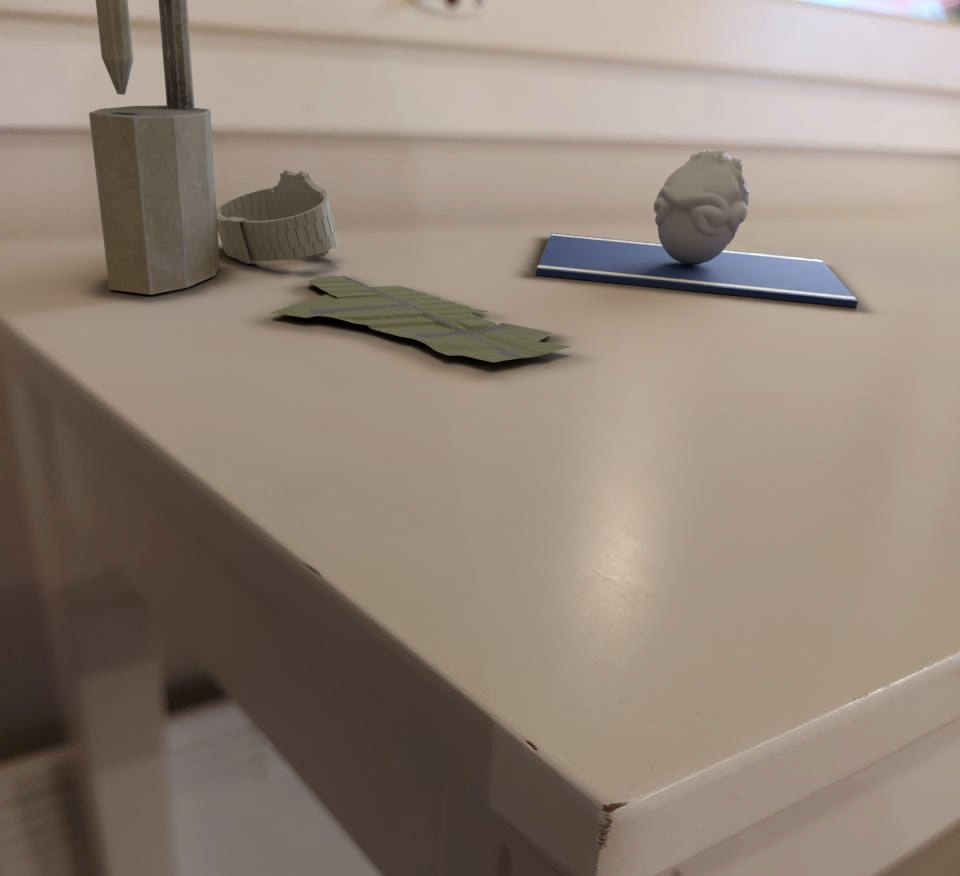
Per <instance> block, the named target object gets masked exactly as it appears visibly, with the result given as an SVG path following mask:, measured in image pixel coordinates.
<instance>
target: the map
mask: <svg viewBox="0 0 960 876" xmlns="http://www.w3.org/2000/svg"><path fill="white" fill-rule="evenodd" d="M306 283H309V284H310V285H312V286H314V287H317V288H318V289H320V290H322V291H324V292H326V294H323V295H321V296H318V297H315V298H313V299H309V300H307V301H303V302H300V303H296V304H292V305H289V306H286V307H283V308H281V309H277V310H274V311H271V312H270V314H276V315H283V316H289V317H290V316H291V317H298V318H305V319H308V318H313V317H326V318H331V319H332V318H333V319H337V320H341V321H345V322H348V323H352V324H356V325H357V324H358V325H363V326H364V325H365V326H367V327H368V328H369V329H371V330H374V331H377V332H381V333H384V334H385V333H386V334H389V335H393V336H397V337H401V338H406V339H407V338H408V339H413V340H416V341H419V342H421V343H423V344H425V345H426V346H428V347H429V348H431V349H432V350H433V351H435V352H438V353H440V354H443V355H446V356H464V357H466V358H467V357H468V358H472V359H476V360H481V361H484V362H490V363H498V362H502V361H510V360H517V359H518V360H519V359H529V358H534V357H539V356H545V355H549V354H551V353H553V352H557V351H561V350H565V349H569V348H572V347H573V346H571V345H565V344H558V343H551V342H544V341H543V340H544V339H546V338H547V337H549V336H550V335H552V332H549V331H545V330H540V329H536V328H531V327H528V326H527V327H526V326H521V325H517V324H513V323H506V322H501V323H499V324H496V323H495V322H494V321H491V320H487V319H485V318H483V317H481V316H479V315H477V314H478V313H489V311H488V310H483V309H478V308H472V307H470V306H467V305H463V304H460V303H456V302H455V301H451V300H447V299H443V298H442V297H439V296H434V295H430V294H427V293H425V292H421V291H418V290H414V289H412V288H409V287H406V286H401V285H392V286H391V285H390V286H369V285H367V284H365V283H362V282H360V281H357V280H355V279H352V278H350V277H348V276H345V275H328V276H317V277H314V278H313V279H312V278H311V279H309V280H306ZM475 313H477V314H475Z"/></svg>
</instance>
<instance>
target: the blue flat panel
mask: <svg viewBox="0 0 960 876" xmlns="http://www.w3.org/2000/svg"><path fill="white" fill-rule="evenodd" d="M535 275H536V276H541V277H550V278H551V277H553V278H562V279H571V280H572V279H573V280H580V281H581V280H582V281H593V282H601V283H611V284H621V285H631V286H642V287H651V288H660V289H661V288H662V289H671V290H681V291H689V292H690V291H691V292H700V293H711V294H718V295H719V294H721V295H729V296H740V297H747V298H748V297H749V298H757V299H758V298H759V299H769V300H778V301H779V300H780V301H788V302H789V301H790V302H798V303H807V304H819V305H828V306H837V307H838V306H839V307H847V308H857V307H858V303H859V300H858V299H857V298H856V297H855V296H854V294H852V292H851V291H850V290H849V289H848V288H847V287H846V286H845V284H844V283H842V281H841V280H840V279H839V278H838V277H837V276H836V274H835V273H834V272H833V271H832V270H831V269H830V267H829V266H828V265H827V264H826V263H825V261H823V259H822V258H813V257H803V256H802V257H801V256H791V255H782V254H771V253H761V252H750V251H742V250H731V249H724V250H723V251H722V252H721V253H720V254H719V255H718V256H717V257H715V258H714V259H712V260H710V261H708V262H705V263H702V264H697V265H689V264H684V263H681V262H678V261H676V260H675V259H673V258H672V257H671V256H669V255H668V253H667V252H666V251H665V250H664V248H663V246H662V244H661V242H651V241H650V242H649V241H639V240H629V239H620V238H609V237H608V238H607V237H601V236H600V237H599V236H591V235H589V236H588V235H578V234H569V233H557V232H550V235H549V237H548V240H547V242H546V245H545V248H544V251H543V252H542V254H541V257H540V260H539V262H538V264H537V267H536V269H535Z"/></svg>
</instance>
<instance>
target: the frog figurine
mask: <svg viewBox="0 0 960 876" xmlns="http://www.w3.org/2000/svg"><path fill="white" fill-rule="evenodd" d="M742 162H743V159H742V158H740V157H731V155H729V154H727V153H726V151H721V150H716V149H715V150H714V149H708V150H707V149H706V151H702V150H701V151H700V152H694V153H693V154H691V155H690V157H689V160H688V161H686V162H685V163H684V164H683V165H681V166H680V167H678V168H677V169H676V170H675V171H673V172H672V173H671V174H670V175H669V176H668V177H667V179H666V180H665V182H664V184H663V187H661V189H660V190H659V191H658V194H657V196H656V200H655V201H654V203H653V211H654V213H656V215H655V218H654V222H655V224H656V225H657V233H658V239H659V243H661V244H662V246H663V248H664V250H665V251H666V252H667V253H668V255H669V256H671V257H672V258H673V259H675V260H676V261H678V262H681V263H684V264H689V265H697V264H702V263H705V262H708V261H710V260H712V259H714V258H715V257H717V256H718V255H719V254H720V253H721V252H722V251H723V250H726V248H727V246H728V245H730V244H731V243H732V241H733V240H734V238H735V236H736V233H737V232H738V229H739V227H740V225H741V224H742V223H743V222H744V221H745V220H746V218H747V216H748V205H749V200H750V192H751V191H750V188H749V186H748V183H747V182H746V180H745V177H744V176H743V174H742V173H743V166H744V165H743V164H742Z"/></svg>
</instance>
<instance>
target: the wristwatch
mask: <svg viewBox="0 0 960 876" xmlns="http://www.w3.org/2000/svg"><path fill="white" fill-rule="evenodd" d="M279 178H280V179H279V180H278V182H277V185H275V186H273V187H269V188H263V189H259V190H255V191H252V192H251V191H250V192H248V193H245V194H242V195H240V196H236V197H235V198H234V197H233V198H232V199H229V200H228V201H226V202H224V203H222V204H221V205H219V206H218V207H216V213H217V229H218V237H219V240H220V242H221V246H222V248H223V252H224V253H225V255H226V256H228V257H230V258H233V259H236V260H238V261H239V262H242V263H245V264H249V265H250V264H254V263H257V262H278V261H279V262H280V261H286V260H287V261H288V260H289V261H290V260H294V259H300V258H306V257H310V256H314V255H316V256H320V257H322V258H324V257H325V256H326V255H328V254H329V252H330V251H331V250H332V249H334V248H336V247H338V246H339V244H340V241H339V237H338V234H337V233H338V232H337V229H336V225H335V221H334V217H333V213H332V209H331V206H330V205H331V204H330V201H329V197H328V195H327V194H328V193H327V190H326V189H324V188H323V187H322V186H320V185H319V184H318V182H317V181H316V180H315V179H314V178H312V177H311V176H310V174H309V173H308V172H306V171H304V170H299V171H298V172H293V171H291V170H288V169H284V170H283V172H281V173H280V174H279Z"/></svg>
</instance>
